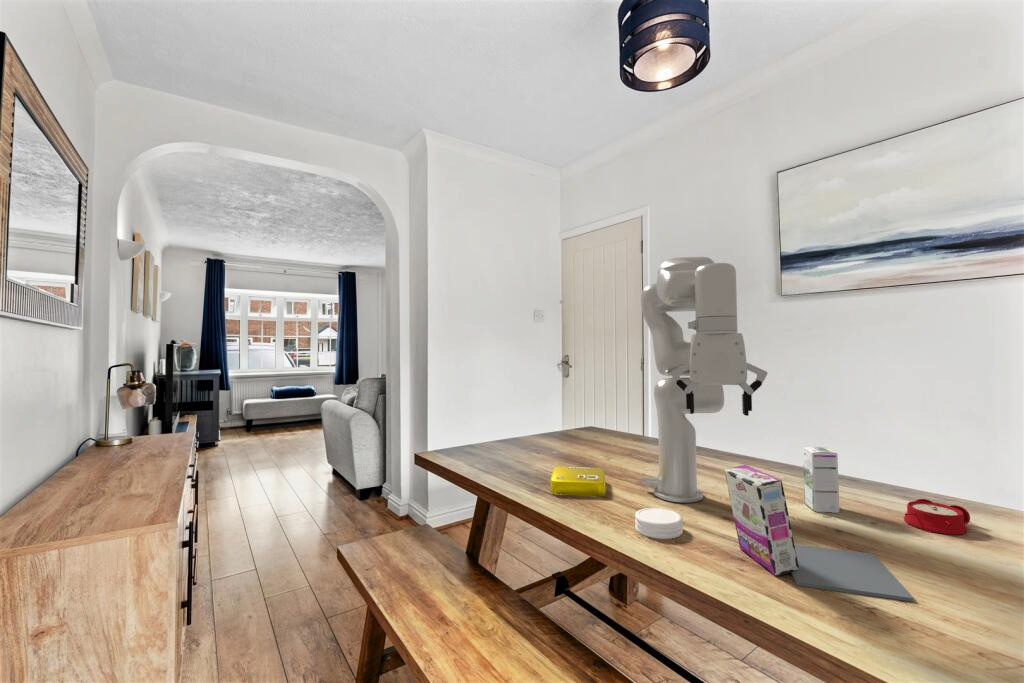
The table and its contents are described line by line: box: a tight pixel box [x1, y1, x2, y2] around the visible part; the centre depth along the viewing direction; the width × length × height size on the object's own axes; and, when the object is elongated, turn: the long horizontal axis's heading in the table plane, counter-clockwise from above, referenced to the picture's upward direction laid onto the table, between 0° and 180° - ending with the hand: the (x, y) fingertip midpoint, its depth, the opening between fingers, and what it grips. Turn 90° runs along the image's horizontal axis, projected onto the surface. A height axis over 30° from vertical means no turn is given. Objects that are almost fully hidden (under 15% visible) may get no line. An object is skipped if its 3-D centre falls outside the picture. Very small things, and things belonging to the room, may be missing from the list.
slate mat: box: [790, 544, 915, 603], centre depth 83 cm, size 16×16×1 cm
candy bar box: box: [724, 464, 799, 577], centre depth 86 cm, size 11×5×16 cm, turn 5°
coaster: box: [634, 507, 684, 540], centre depth 102 cm, size 10×10×4 cm
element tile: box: [549, 466, 607, 498], centre depth 132 cm, size 15×15×5 cm
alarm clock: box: [903, 498, 971, 536], centre depth 103 cm, size 10×6×15 cm
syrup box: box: [802, 446, 840, 514], centre depth 113 cm, size 6×6×14 cm
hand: (718, 413), depth 90 cm, fingers open, 9 cm apart
